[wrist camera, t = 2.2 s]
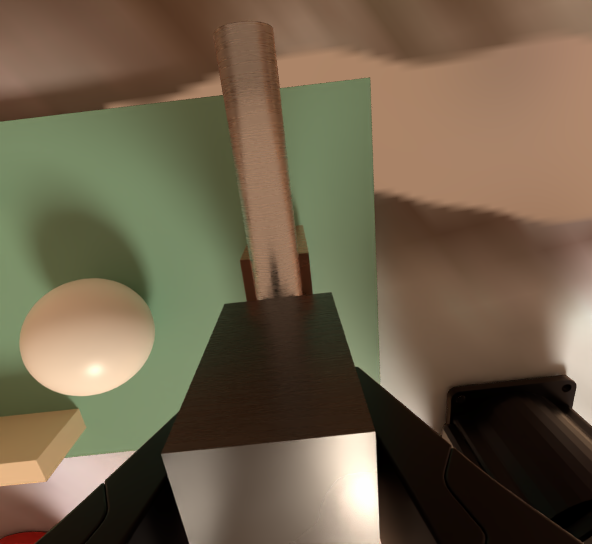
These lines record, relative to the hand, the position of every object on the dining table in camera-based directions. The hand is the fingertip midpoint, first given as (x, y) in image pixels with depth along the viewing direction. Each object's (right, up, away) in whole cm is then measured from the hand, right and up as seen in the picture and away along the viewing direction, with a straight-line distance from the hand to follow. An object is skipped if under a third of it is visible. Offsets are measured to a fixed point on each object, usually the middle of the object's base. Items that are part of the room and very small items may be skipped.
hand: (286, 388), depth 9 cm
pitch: (-7, +2, +7) cm, 10 cm away
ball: (-8, +1, +4) cm, 9 cm away
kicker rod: (0, +2, +6) cm, 6 cm away
